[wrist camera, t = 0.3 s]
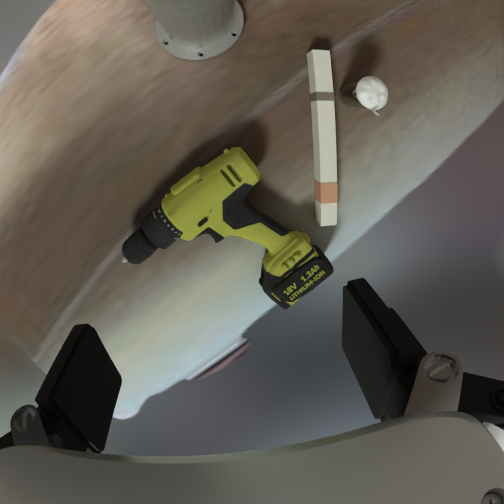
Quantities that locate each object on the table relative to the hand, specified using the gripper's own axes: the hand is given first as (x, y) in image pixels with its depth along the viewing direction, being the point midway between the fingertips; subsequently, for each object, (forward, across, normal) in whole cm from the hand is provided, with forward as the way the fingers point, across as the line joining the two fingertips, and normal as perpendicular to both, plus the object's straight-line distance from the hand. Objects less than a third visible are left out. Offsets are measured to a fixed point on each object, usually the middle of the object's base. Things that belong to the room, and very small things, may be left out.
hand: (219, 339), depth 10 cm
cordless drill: (+36, +2, +12) cm, 38 cm away
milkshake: (+36, -20, -9) cm, 42 cm away
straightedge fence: (+36, -15, -3) cm, 39 cm away
